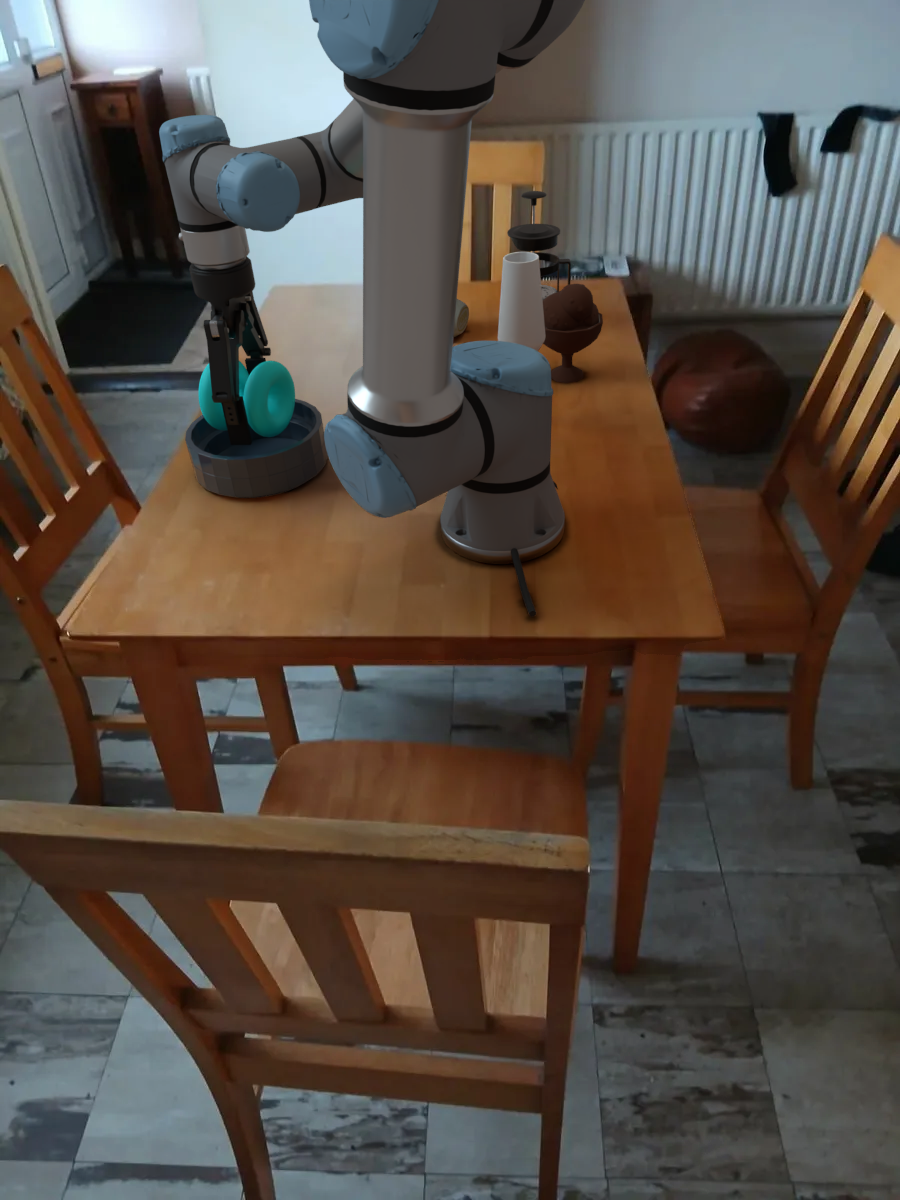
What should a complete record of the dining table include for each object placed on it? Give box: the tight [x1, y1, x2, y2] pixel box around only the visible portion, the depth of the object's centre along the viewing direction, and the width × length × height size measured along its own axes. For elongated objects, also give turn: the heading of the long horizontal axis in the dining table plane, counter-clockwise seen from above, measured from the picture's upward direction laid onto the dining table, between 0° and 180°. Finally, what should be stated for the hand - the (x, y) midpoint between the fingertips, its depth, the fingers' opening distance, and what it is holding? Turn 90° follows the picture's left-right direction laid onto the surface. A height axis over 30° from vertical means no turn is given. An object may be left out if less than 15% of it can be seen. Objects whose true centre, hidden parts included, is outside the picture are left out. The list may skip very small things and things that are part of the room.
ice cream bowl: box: [542, 283, 604, 384], centre depth 141 cm, size 11×11×15 cm
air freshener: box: [453, 298, 470, 338], centre depth 159 cm, size 11×8×10 cm
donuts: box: [197, 360, 296, 437], centre depth 120 cm, size 10×10×10 cm
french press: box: [506, 190, 572, 301], centre depth 155 cm, size 12×9×23 cm
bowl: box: [184, 398, 329, 499], centre depth 125 cm, size 19×19×6 cm
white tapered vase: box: [497, 251, 545, 352], centre depth 126 cm, size 7×7×24 cm
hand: (253, 422), depth 122 cm, fingers closed on donuts, 11 cm apart
